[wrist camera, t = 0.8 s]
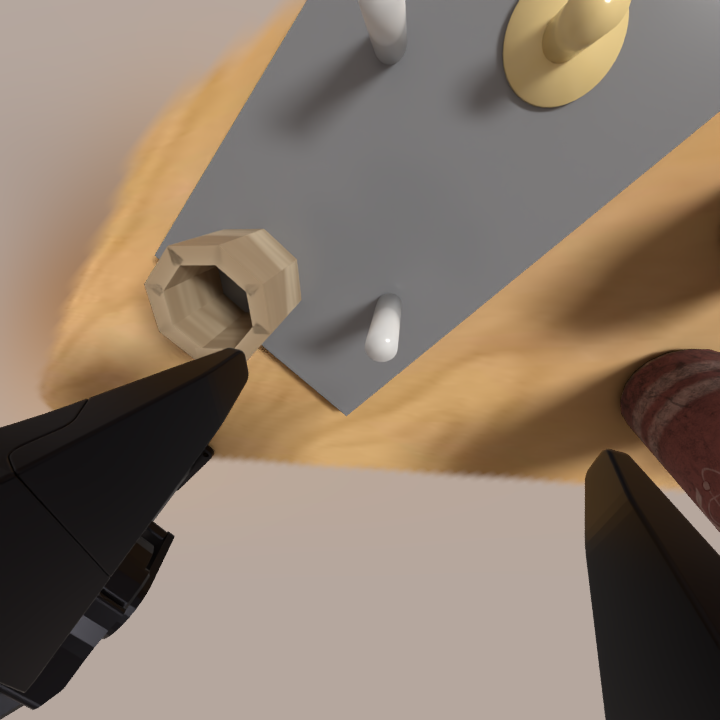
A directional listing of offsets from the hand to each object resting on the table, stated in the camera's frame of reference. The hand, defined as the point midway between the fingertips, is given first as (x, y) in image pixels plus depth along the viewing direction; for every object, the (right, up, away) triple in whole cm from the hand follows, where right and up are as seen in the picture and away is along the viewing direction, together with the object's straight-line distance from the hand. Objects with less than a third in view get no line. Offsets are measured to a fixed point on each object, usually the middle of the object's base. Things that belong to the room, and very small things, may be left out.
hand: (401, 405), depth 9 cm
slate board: (+1, +10, +9) cm, 14 cm away
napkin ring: (-7, +6, +11) cm, 15 cm away
